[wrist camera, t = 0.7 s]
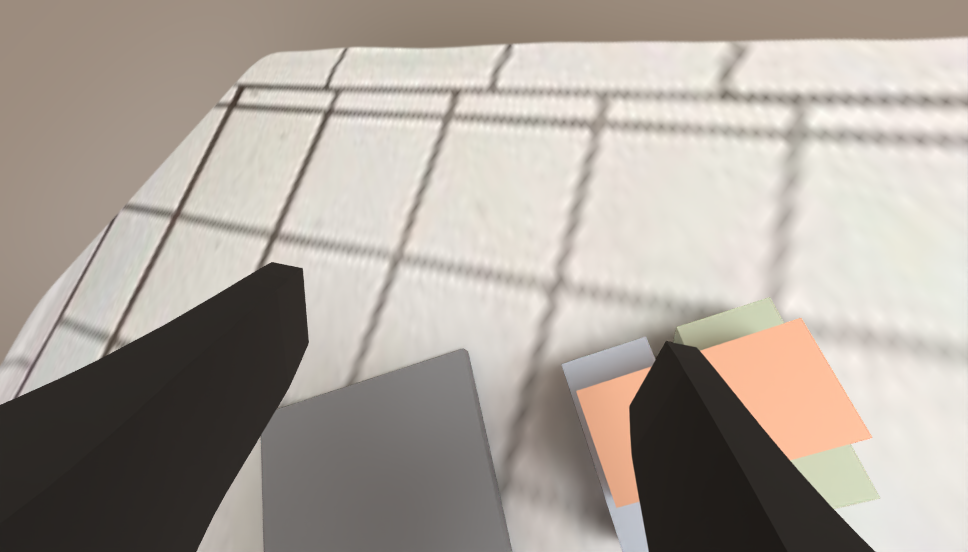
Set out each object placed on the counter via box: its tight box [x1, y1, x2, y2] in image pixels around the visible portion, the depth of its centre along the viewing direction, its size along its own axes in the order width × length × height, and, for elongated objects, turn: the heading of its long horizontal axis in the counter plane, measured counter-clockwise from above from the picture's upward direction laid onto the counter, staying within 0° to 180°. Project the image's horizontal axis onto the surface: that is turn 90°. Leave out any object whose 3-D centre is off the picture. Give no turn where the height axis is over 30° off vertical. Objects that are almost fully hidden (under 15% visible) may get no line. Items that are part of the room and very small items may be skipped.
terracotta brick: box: [576, 318, 872, 508], centre depth 18 cm, size 8×4×4 cm, turn 106°
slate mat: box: [261, 349, 512, 552], centre depth 26 cm, size 12×14×1 cm
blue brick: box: [562, 337, 656, 552], centre depth 22 cm, size 8×4×4 cm, turn 15°
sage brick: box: [673, 297, 880, 509], centre depth 21 cm, size 8×4×4 cm, turn 15°
